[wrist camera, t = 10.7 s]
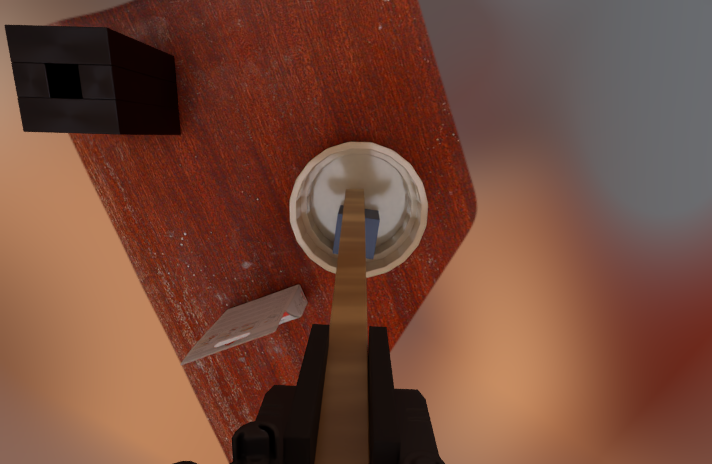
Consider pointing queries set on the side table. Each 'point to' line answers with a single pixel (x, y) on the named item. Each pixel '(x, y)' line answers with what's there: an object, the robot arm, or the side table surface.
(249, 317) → the ink box
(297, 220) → the bowl
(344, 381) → the stick
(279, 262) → the side table surface
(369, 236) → the block
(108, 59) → the stand
